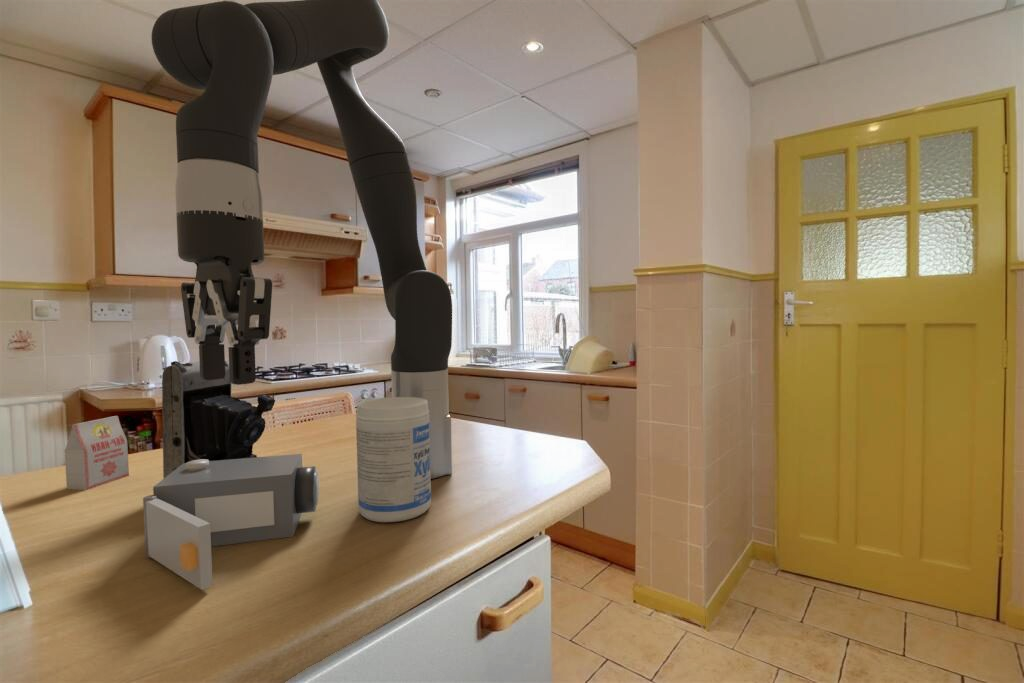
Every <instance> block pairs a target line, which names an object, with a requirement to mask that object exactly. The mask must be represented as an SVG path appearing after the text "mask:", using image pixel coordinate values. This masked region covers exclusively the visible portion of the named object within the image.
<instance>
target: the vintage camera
mask: <svg viewBox="0 0 1024 683" xmlns="http://www.w3.org/2000/svg"><path fill="white" fill-rule="evenodd" d="M161 388H162V389H161V390H162V392H161V397H162V398H161V399H162V402H161V406H162V408H161V410H162V412H161V414H162V416H161V419H162V421H161V422H162V468H163V469H162V475H163V478H162V479H164V478H165V477H167V476H168V475H169V474H170V473H172V472H173V471H174V470H175V469H177V468H178V467H179V466H181V465H182V464H183V463H187V462H189V461H193V460H199V459H208V460H209V461H217V460H230V459H242V458H255V457H258V455H257V454H254V453H253V449H254V448H253V447H254V444H256V443H257V442H258V441H259V440H260V438H261V437H262V435H263V433H264V431H265V429H266V420H265V418H263V414H264V413H266V412H267V413H268V412H270V411H272V410H273V408H274V405H275V403H276V399H275V398H274V397H272V396H270V395H267V394H263V395H258V396H257V399H256V400H257V406H256V405H252V403H251V402H249V401H246V400H241V399H239V398H237V397H235V396H232V383H231V382H230V375H229V362H228V361H226V360H225V377H224V378H222V379H216V380H203V379H201V377H200V361H195V362H185V363H180V362H179V361H176V360H175V361H171V362H170V365H169V366H165V367H164V369H163V371H162V380H161Z"/></svg>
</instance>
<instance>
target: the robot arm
mask: <svg viewBox="0 0 1024 683" xmlns="http://www.w3.org/2000/svg"><path fill="white" fill-rule="evenodd" d="M389 29H390V28H389V25H388V20H387V18H386V14H385V13H384V10H383V8H382V6H381V4H380V3H379V1H378V0H291V1H261V2H251V3H246V4H245V3H244V4H241V3H240V2H235V1H231V0H227V1H226V0H222V1H215V2H209V3H205V4H204V3H203V4H197V5H191V6H184V7H183V6H182V7H178V8H172V9H169V10H167V11H165V12H163V13H162V14H160V15H159V17H158V18H156V21H155V22H154V24H153V27H152V31H151V46H152V49H153V50H152V51H153V53H154V56H155V58H156V59H157V62H158V63H159V64H160V66H161V67H162V69H163V70H164V71H165V72H166V73H167V74H168V75H169V76H170V77H171V78H172V79H174V80H176V81H177V82H179V83H181V85H182V84H183V85H184V86H186V87H188V88H191V89H195V90H203V93H202V94H200V95H199V96H198V97H196V98H194V99H192V100H190V101H188V102H186V103H184V104H183V105H181V107H180V108H179V109H178V110H177V113H176V115H175V116H176V117H175V133H176V134H175V136H176V139H175V140H176V157H177V164H176V165H177V167H176V177H175V178H176V179H175V192H174V193H175V212H176V213H175V215H176V217H175V218H176V234H177V235H176V236H177V254H178V255H177V256H178V257H179V258H180V260H182V261H184V262H187V263H193V264H195V266H196V269H195V270H196V273H195V276H194V282H182V283H181V284H180V292H181V299H182V308H183V316H184V324H185V334H186V336H187V338H193V339H194V343H195V344H196V345H198V353H199V354H198V356H199V357H198V358H199V362H200V377H201V379H203V380H216V379H222V378H224V377H225V361H226V356H225V343H224V341H225V336H226V337H227V341H228V344H229V346H228V364H229V375H230V382H231V385H237V386H239V385H246V384H247V385H248V384H253V383H255V381H256V379H257V377H256V376H257V374H256V371H257V370H256V348H255V347H256V346H257V345H259V343H260V340H268V338H269V337H270V327H271V324H270V322H271V312H272V295H273V281H272V280H271V278H268V277H267V278H266V277H265V278H264V277H255V276H254V273H253V268H252V266H257V265H260V264H262V263H263V262H265V238H264V234H265V233H264V217H263V216H264V209H263V208H264V207H263V193H262V192H263V191H262V189H261V188H262V187H261V181H260V174H259V172H260V171H259V170H260V168H259V145H258V143H259V142H258V135H259V129H260V126H261V124H262V120H263V117H264V113H265V112H264V111H265V107H266V104H267V101H268V96H269V92H270V90H271V85H272V80H273V76H277V75H282V74H285V73H290V72H293V71H298V70H300V69H302V68H306V67H308V66H311V65H313V64H315V63H316V64H317V66H318V69H319V72H320V75H321V77H322V78H321V79H322V80H323V82H324V86H325V88H326V90H327V94H328V97H329V99H330V102H331V105H332V108H333V110H334V115H335V118H336V121H337V124H338V128H339V131H340V134H341V138H342V141H343V142H342V143H343V145H344V149H345V154H346V158H347V162H348V165H349V169H350V172H351V176H352V179H353V183H354V187H355V190H356V194H357V196H358V199H359V202H360V205H361V208H362V212H363V216H364V218H365V221H366V225H367V227H368V230H369V234H370V236H371V239H372V241H373V244H374V248H375V252H376V256H377V260H378V265H379V271H380V276H381V282H382V289H383V295H384V301H385V304H386V308H387V310H388V311H387V312H388V313H389V315H390V316H391V318H392V319H393V320H394V321H395V322H394V324H395V327H394V329H395V330H394V331H395V334H394V335H395V336H394V337H395V339H394V346H393V350H392V352H391V355H390V356H391V357H390V369H391V372H390V374H391V375H390V378H391V397H416V398H423V399H426V400H427V401H428V410H429V425H430V475H431V479H436V478H440V477H443V476H446V475H447V476H448V475H452V474H453V466H452V464H453V460H452V459H453V455H452V454H453V453H452V452H453V449H452V418H451V415H450V414H449V412H450V411H449V410H450V407H449V358H450V353H451V350H452V346H453V345H452V344H453V343H452V342H453V300H452V298H453V297H452V293H451V290H450V288H449V285H448V283H447V282H446V281H445V279H444V278H443V277H442V276H440V275H439V274H438V273H436V272H433V271H431V270H427V268H426V264H425V261H424V257H423V254H422V251H421V247H420V244H419V238H418V215H417V214H418V212H417V211H418V208H417V207H418V204H417V190H416V185H415V183H416V182H415V179H414V175H413V170H412V166H411V163H410V159H409V156H408V150H407V148H406V146H405V144H404V141H403V140H402V138H401V137H400V136H399V134H398V133H397V132H396V131H395V130H394V129H393V128H392V127H391V126H390V124H388V123H387V122H386V121H385V120H384V119H383V118H382V117H381V116H380V114H378V113H377V112H376V111H375V110H374V109H373V107H371V106H370V105H369V103H368V102H367V100H366V99H365V98H364V96H363V95H362V91H361V90H360V88H359V86H358V83H357V80H356V78H355V74H354V70H353V68H354V67H353V66H355V65H358V64H360V63H362V62H364V61H367V60H370V59H372V58H374V57H376V56H377V55H379V54H381V53H383V51H384V50H385V49H386V48H387V46H388V44H389V42H390V41H389V40H390V30H389ZM257 321H258V324H256V322H257Z"/></svg>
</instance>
